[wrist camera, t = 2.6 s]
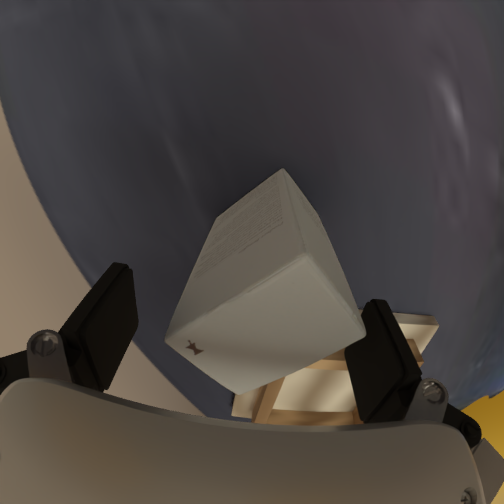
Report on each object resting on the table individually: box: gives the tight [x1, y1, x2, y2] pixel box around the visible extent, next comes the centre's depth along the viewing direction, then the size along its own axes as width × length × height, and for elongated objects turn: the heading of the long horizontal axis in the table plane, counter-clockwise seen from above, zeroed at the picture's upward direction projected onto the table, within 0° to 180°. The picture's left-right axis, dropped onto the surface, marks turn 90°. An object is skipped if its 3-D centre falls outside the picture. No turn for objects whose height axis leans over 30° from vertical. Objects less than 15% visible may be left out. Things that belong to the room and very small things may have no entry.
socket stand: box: [231, 309, 439, 426], centre depth 25 cm, size 18×18×4 cm
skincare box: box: [164, 168, 366, 395], centre depth 14 cm, size 6×4×12 cm
